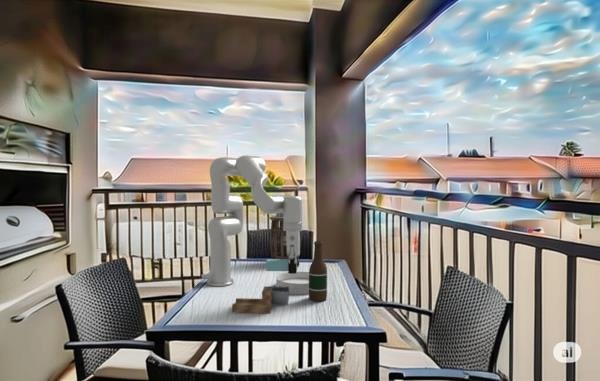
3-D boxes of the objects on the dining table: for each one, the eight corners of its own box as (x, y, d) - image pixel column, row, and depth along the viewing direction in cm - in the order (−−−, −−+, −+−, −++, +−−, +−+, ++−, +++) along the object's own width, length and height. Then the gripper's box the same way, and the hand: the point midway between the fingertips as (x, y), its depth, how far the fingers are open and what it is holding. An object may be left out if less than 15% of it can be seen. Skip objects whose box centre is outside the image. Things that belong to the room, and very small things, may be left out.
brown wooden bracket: (232, 312, 139) (232, 291, 139) (236, 305, 147) (236, 286, 146) (269, 313, 139) (270, 292, 138) (272, 306, 146) (272, 286, 146)
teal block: (266, 271, 150) (266, 261, 150) (267, 268, 154) (267, 259, 154) (296, 271, 150) (296, 261, 150) (296, 269, 154) (296, 259, 154)
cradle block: (267, 304, 148) (267, 292, 148) (269, 298, 156) (269, 286, 156) (287, 304, 148) (287, 292, 148) (289, 298, 156) (289, 286, 156)
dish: (292, 279, 188) (292, 269, 188) (332, 285, 177) (332, 275, 177) (266, 290, 169) (266, 279, 169) (308, 298, 158) (308, 286, 158)
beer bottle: (321, 303, 150) (322, 243, 150) (305, 299, 155) (305, 241, 154) (330, 298, 157) (331, 241, 157) (314, 295, 161) (314, 239, 161)
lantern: (299, 261, 229) (299, 196, 228) (303, 268, 210) (304, 197, 209) (267, 262, 227) (267, 195, 226) (269, 269, 207) (269, 197, 207)
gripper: (301, 229, 143) (301, 277, 143) (302, 224, 160) (302, 267, 160) (281, 229, 143) (281, 277, 143) (284, 224, 160) (284, 267, 160)
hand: (292, 271), depth 152 cm, fingers closed on teal block, 4 cm apart
